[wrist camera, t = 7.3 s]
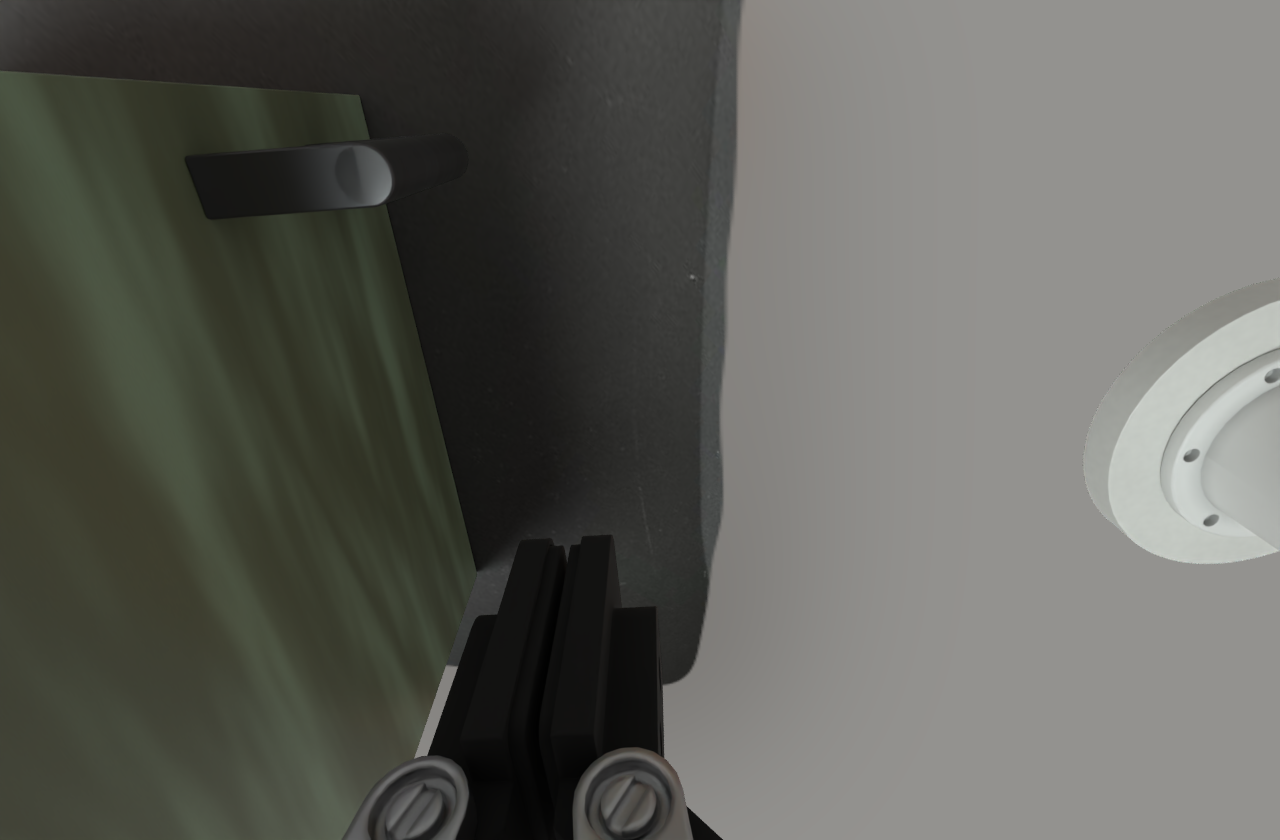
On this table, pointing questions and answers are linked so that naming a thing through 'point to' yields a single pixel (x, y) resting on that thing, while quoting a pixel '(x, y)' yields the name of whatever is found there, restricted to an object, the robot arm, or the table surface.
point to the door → (213, 463)
